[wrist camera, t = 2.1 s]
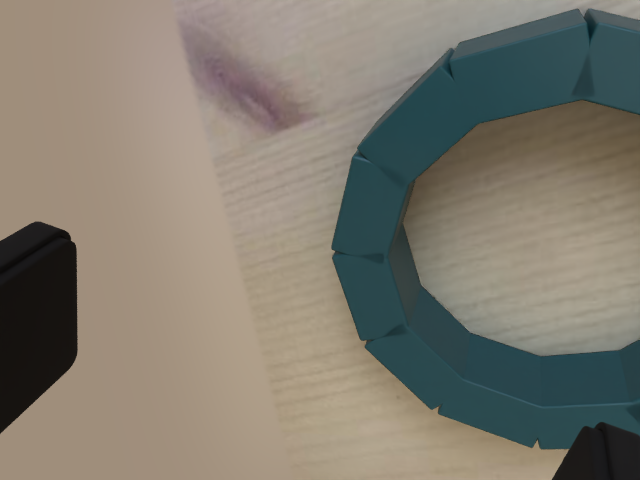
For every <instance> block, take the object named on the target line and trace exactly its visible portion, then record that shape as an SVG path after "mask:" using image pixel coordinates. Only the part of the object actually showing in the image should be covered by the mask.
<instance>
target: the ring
mask: <svg viewBox="0 0 640 480" xmlns="http://www.w3.org/2000/svg"><path fill="white" fill-rule="evenodd" d="M579 100H585V101H589V102H592V103H596V104H600V105H604V106H608V107H611V108H615V109H619V110H623V111H627V112H630V113H634V114H638V115H640V20H636V19H632V18H628V17H623V16H619V15H615V14H611V13H607V12H603V11H598V10H594V9H588V10H587V12H586V14H585V17H584V18H583V16H582V14H581V13H580V11H579V9H575V10H571V11H568V12H564V13H561V14H557V15H554V16H550V17H547V18H543V19H540V20H536V21H533V22H529V23H526V24H522V25H519V26H515V27H512V28H508V29H505V30H501V31H498V32H495V33H491V34H488V35H484V36H481V37H477V38H474V39H470V40H467V41H463V42H460V43H459V44H458V46H457V48H456V49H455V51H454V50H453V49H452V48H450V49H449V50H448V51H447V52H446V53H445V54H444V55H443V56H442V57H441V58H440V59H439V60H438V61H437V62H436V63H435V64H434V65H433V66H432V67H431V68H430V69H429V70H428V71H427V72H426V73H425V74H424V75H423V76H422V77H421V78H420V79H419V80H418V81H417V82H416V83H415V84H414V85H413V86H412V87H411V88H410V89H409V90H408V91H407V92H406V93H405V94H404V95H403V96H402V97H401V98H400V99H399V100H398V101H397V102H396V103H395V104H394V105H393V106H392V107H391V108H390V109H389V110H388V111H387V112H386V113H385V114H384V115H383V116H382V117H381V118H380V119H379V120H378V121H377V122H376V123H375V125H374V126H373V127H372V129H371V130H370V131H369V133H368V134H367V135H366V136H365V138H364V139H363V140H362V142H361V143H360V144H359V146H358V147H357V149H358V150H357V152H356V153H355V154H354V156H353V157H352V161H351V165H350V169H349V173H348V178H347V182H346V186H345V191H344V195H343V199H342V203H341V208H340V212H339V216H338V221H337V225H336V229H335V233H334V238H333V242H332V246H331V247H332V250H334V251H335V253H334V254H333V256H332V259H333V262H334V265H335V268H336V271H337V274H338V277H339V280H340V282H341V285H342V288H343V291H344V294H345V297H346V300H347V303H348V306H349V308H350V311H351V314H352V317H353V320H354V323H355V326H356V329H357V332H358V335H359V337H360V340H362V341H365V340H367V342H366V344H365V348H366V349H367V350H368V351H369V352H370V353H371V354H372V355H373V356H374V357H375V358H376V359H377V360H379V361H380V362H381V363H382V364H383V365H384V366H385V367H386V368H387V369H388V370H389V371H390V372H391V373H392V374H393V375H395V376H396V377H397V378H398V379H399V380H400V381H401V382H402V383H403V384H404V385H405V386H406V387H407V388H408V389H410V390H411V391H412V392H413V393H414V394H415V395H416V396H417V397H418V398H419V399H420V400H421V401H422V402H423V403H425V404H426V405H427V406H428V407H429V408H430V409H431V410H433V409H434V408H436V407H438V406H439V410H438V414H439V415H442V416H445V417H448V418H450V419H453V420H456V421H459V422H461V423H464V424H467V425H470V426H472V427H475V428H478V429H481V430H484V431H486V432H489V433H492V434H495V435H497V436H500V437H503V438H506V439H508V440H511V441H514V442H517V443H519V444H522V445H525V446H528V447H530V448H532V447H533V446H534V444H535V443H536V441H537V439H538V443H539V447H540V449H570V448H571V446H572V444H573V442H574V441H575V439H576V437H577V436H578V434H579V432H580V431H581V429H582V428H583V427H584V426H589V427H591V428H594V427H595V426H596V425H597V424H598V423H599V422H605V423H607V424H610V425H613V426H616V427H619V428H621V429H624V430H627V431H630V432H633V433H636V434H638V435H639V436H640V340H638V341H636V342H634V343H632V344H631V345H629V346H627V347H625V348H623V349H621V350H618V351H606V352H593V353H580V354H567V355H554V356H541V357H540V356H537V355H534V354H531V353H528V352H525V351H522V350H519V349H516V348H513V347H511V346H508V345H505V344H502V343H499V342H496V341H493V340H490V339H487V338H484V337H481V336H478V335H475V334H472V333H470V332H469V331H468V330H467V329H466V328H465V327H464V326H462V325H461V324H460V323H459V322H458V321H457V320H456V319H455V318H454V317H453V316H452V315H451V314H450V313H449V312H448V311H447V310H446V309H445V308H444V307H443V306H442V305H441V304H440V303H439V302H438V301H437V300H436V299H435V298H433V297H432V296H431V295H430V294H429V293H428V292H427V291H426V290H425V289H424V288H423V287H422V286H421V284H420V281H419V277H418V274H417V271H416V267H415V264H414V260H413V257H412V253H411V250H410V247H409V243H408V240H407V236H406V233H405V229H404V226H403V220H404V217H405V214H406V210H407V207H408V203H409V200H410V197H411V193H412V190H413V187H414V183H415V180H416V178H417V177H418V176H420V175H421V174H422V173H423V172H424V171H425V170H426V169H428V168H429V167H430V166H431V165H432V164H433V163H434V162H435V161H437V160H438V159H439V158H440V157H441V156H442V155H443V154H444V153H446V152H447V151H448V150H449V149H450V148H451V147H452V146H454V145H455V144H456V143H457V142H458V141H459V140H460V139H461V138H463V137H464V136H465V135H466V134H467V133H468V132H469V131H470V130H472V129H473V128H474V127H475V126H476V125H477V124H480V123H484V122H488V121H492V120H497V119H501V118H505V117H510V116H514V115H518V114H523V113H527V112H531V111H536V110H540V109H544V108H549V107H553V106H557V105H562V104H566V103H570V102H575V101H579Z"/></svg>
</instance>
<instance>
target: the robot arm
mask: <svg viewBox="0 0 640 480" xmlns="http://www.w3.org/2000/svg"><path fill="white" fill-rule="evenodd" d="M76 257H77V255H76V245H75V243H74V242H72V241H71V237H70V235H69V233H68V232H66V231H65V230H62V229H59V228H56V227H53V226H51V225H48V224H45V223H42V222H34V223H31V224H29V225H28V226H26V227H24V228H22V229H21V230H19V231H17V232H15V233H14V234H12V235H10V236H8V237H7V238H5V239H3V240H1V241H0V433H1V432H3V431H4V430H5V429H6V428H7V427H8V426H9V425H10V424H11V423H12V422H13V421H14V420H15V419H16V418H18V417H19V416H20V415H21V414H22V413H23V412H24V411H25V410H26V409H27V408H28V407H29V406H30V405H31V404H32V403H34V402H35V400H37V399H38V398H39V397H40V396H41V395H42V394H43V393H44V392H45V391H46V390H47V389H48V388H50V386H52V385H53V384H54V383H55V382H56V381H57V380H58V379H59V378H60V377H61V376H62V375H63V374H64V373H65V372H67V371H68V370H69V369H70V367H71V366H72V365H73V363H74V361H75V359H76V356H77V263H76V262H77V260H76V259H77V258H76ZM552 480H640V436H639V435H638V434H636V433H633V432H630V431H627V430H624V429H621V428H619V427H616V426H613V425H610V424H607V423H605V422H599V423H598V424H597V425H596V426H595V427H594V428H591V427H589V426H584V427H583V428H582V429H581V431H580V432H579V434H578V436H577V437H576V439H575V441H574V442H573V444H572V446H571V448H570V449H569V451H568V453H567V454H566V456H565V458H564V460H563V461H562V463H561V465H560V467H559V468H558V470H557V472H556V473H555V475H554V477H553V479H552Z"/></svg>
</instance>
